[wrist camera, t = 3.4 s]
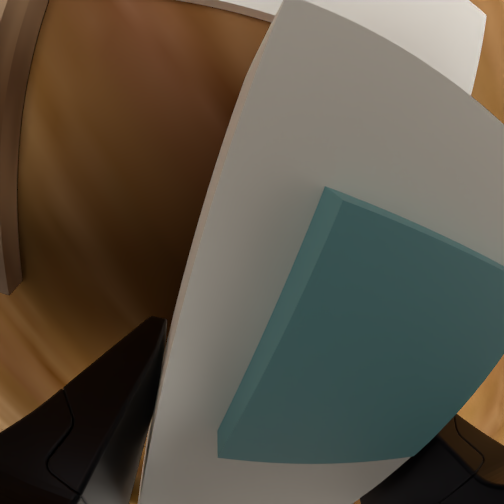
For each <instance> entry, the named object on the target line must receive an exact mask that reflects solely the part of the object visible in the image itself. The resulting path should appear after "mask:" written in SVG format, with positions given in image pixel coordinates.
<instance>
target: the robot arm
mask: <svg viewBox="0 0 504 504" xmlns="http://www.w3.org/2000/svg"><path fill="white" fill-rule="evenodd" d="M166 331H167V320H166V319H165V318H160V317H155V316H151V317H149V318H148V319H146V320H145V321H144V322H143V323H141V324H140V325H139V326H138V327H136V328H135V329H134V330H133V331H132V332H130V333H129V334H128V335H127V336H125V337H124V338H123V339H122V340H120V341H119V342H118V343H117V344H116V345H114V346H113V347H112V348H111V349H109V350H108V351H107V352H106V353H104V354H103V355H102V356H101V357H100V358H98V359H97V360H96V361H95V362H93V363H92V364H91V365H90V366H89V367H87V368H86V369H85V370H84V371H83V372H81V373H80V374H79V375H78V376H76V377H75V378H74V379H73V380H72V381H70V382H69V383H68V384H67V385H66V386H64V387H63V389H64V390H63V389H60V390H59V391H58V392H57V393H56V394H54V395H53V396H52V397H51V398H50V399H48V400H47V401H46V402H44V403H43V404H42V405H41V406H39V407H38V408H37V409H35V410H34V411H33V412H31V413H30V414H28V415H27V416H25V417H24V418H22V419H21V420H19V421H18V422H16V423H15V424H13V425H12V426H10V427H8V428H7V429H5V430H4V431H2V432H1V433H0V504H129V501H130V497H131V493H132V489H133V485H134V481H135V477H136V473H137V470H138V466H139V462H140V458H141V455H142V451H143V447H144V444H145V440H146V437H147V433H148V429H149V426H150V422H151V419H152V416H153V411H154V406H155V401H156V395H157V390H158V385H159V380H160V374H161V368H162V362H163V356H164V350H165V341H166ZM360 502H361V504H504V446H503V445H502V444H500V443H499V442H497V441H495V440H494V439H492V438H491V437H489V436H487V435H486V434H484V433H483V432H481V431H480V430H478V429H477V428H475V427H474V426H473V425H471V424H470V423H468V422H467V421H466V420H464V419H463V418H461V417H460V416H459V415H458V414H456V415H455V416H454V417H453V418H452V419H451V420H450V421H449V422H448V423H447V424H446V425H445V426H444V427H443V428H442V430H441V431H440V432H439V433H438V434H437V435H436V436H435V437H434V438H433V439H432V440H431V441H430V442H429V443H427V444H426V445H425V446H424V447H423V448H422V449H421V450H420V451H419V452H418V453H417V454H416V455H415V456H412V457H410V458H409V459H408V460H407V461H406V462H405V463H403V464H402V465H401V466H400V467H399V468H398V469H397V470H395V471H394V472H393V473H392V474H391V475H389V476H388V477H387V478H386V479H384V480H383V481H382V482H381V483H379V484H378V485H377V486H376V487H374V488H373V489H372V490H370V491H369V492H368V493H366V494H365V495H364V496H362V497H361V498H360Z"/></svg>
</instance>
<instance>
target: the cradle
mask: <svg viewBox="0 0 504 504" xmlns="http://www.w3.org/2000/svg"><path fill="white" fill-rule="evenodd" d="M48 1H49V0H0V293H3V294H6V295H10V294H11V293H12V292H13V291H14V290H15V289H16V287H17V286H18V285H19V284H20V283H21V282H22V281H23V279H22V271H21V261H20V251H19V238H18V219H17V170H18V151H19V138H20V128H21V119H22V111H23V104H24V97H25V91H26V86H27V80H28V75H29V70H30V65H31V61H32V56H33V52H34V48H35V44H36V40H37V36H38V33H39V29H40V26H41V22H42V19H43V16H44V13H45V10H46V7H47V4H48Z"/></svg>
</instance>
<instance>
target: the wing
mask: <svg viewBox="0 0 504 504" xmlns="http://www.w3.org/2000/svg"><path fill="white" fill-rule="evenodd" d="M178 1H184V2H189V3H195V4H200V5H205V6H210V7H215V8H219V9H224V10H228V11H232V12H236V13H240V14H244V15H247V16H251V17H254V18H258V19H261V20H265V21H268V22H271V23H272V21H273V19H274V17H275V15H276V13H277V11H278V9H279V7H280V5H281V4H282V2H283V0H178ZM304 1H307V2H310V3H312V4H315V5H317V6H319V7H322V8H324V9H327V10H329V11H331V12H334V13H336V14H338V15H340V16H342V17H345V18H347V19H349V20H351V21H353V22H355V23H357V24H359V25H361V26H363V27H365V28H367V29H369V30H371V31H373V32H375V33H377V34H378V35H380V36H382V37H384V38H386V39H387V40H389V41H391V42H393V43H394V44H396V45H398V46H400V47H401V48H403V49H405V50H406V51H408V52H409V53H411V54H413V55H414V56H416V57H417V58H419V59H420V60H422V61H424V62H425V63H427V64H428V65H430V66H431V67H432V68H434V69H435V70H437V71H438V72H440V73H441V74H443V75H444V76H445V77H447V78H448V79H449V80H451V81H452V82H453V83H455V84H456V85H457V86H459V87H460V88H461V89H463V90H464V91H465V92H466V93H468V94H469V95H470V96H471V93H472V89H473V85H474V81H475V76H476V72H477V67H478V63H479V58H480V53H481V47H482V42H483V36H484V30H485V23H486V16H487V15H486V14H485V13H483V12H482V11H481V10H480V9H479V8H478V7H476V6H475V5H474V4H473V3H472V2H470V1H469V0H304Z"/></svg>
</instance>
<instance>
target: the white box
mask: <svg viewBox="0 0 504 504" xmlns="http://www.w3.org/2000/svg"><path fill="white" fill-rule="evenodd" d="M503 354H504V124H503V123H501V122H500V121H499V120H498V119H497V118H496V117H495V116H494V115H493V114H492V113H490V112H489V111H488V110H487V109H486V108H485V107H483V106H482V105H481V104H480V103H479V102H478V101H476V100H475V99H474V98H473V97H471V96H470V95H469V94H468V93H466V92H465V91H464V90H463V89H461V88H460V87H459V86H457V85H456V84H455V83H453V82H452V81H451V80H449V79H448V78H447V77H445V76H444V75H443V74H441V73H440V72H438V71H437V70H435V69H434V68H432V67H431V66H430V65H428V64H427V63H425V62H424V61H422V60H420V59H419V58H417V57H416V56H414V55H413V54H411V53H409V52H408V51H406V50H405V49H403V48H401V47H400V46H398V45H396V44H394V43H393V42H391V41H389V40H387V39H386V38H384V37H382V36H380V35H378V34H377V33H375V32H373V31H371V30H369V29H367V28H365V27H363V26H361V25H359V24H357V23H355V22H353V21H351V20H349V19H347V18H345V17H342V16H340V15H338V14H336V13H334V12H331V11H329V10H327V9H324V8H322V7H319V6H317V5H315V4H312V3H310V2H307V1H304V0H283V2H282V4H281V5H280V7H279V9H278V11H277V13H276V15H275V17H274V19H273V21H272V23H271V25H270V27H269V29H268V31H267V33H266V35H265V37H264V39H263V41H262V43H261V45H260V47H259V49H258V51H257V53H256V55H255V57H254V59H253V61H252V64H251V66H250V68H249V70H248V72H247V74H246V77H245V79H244V82H243V85H242V88H241V91H240V93H239V96H238V99H237V102H236V105H235V108H234V110H233V113H232V116H231V119H230V122H229V125H228V128H227V131H226V134H225V137H224V140H223V143H222V146H221V149H220V152H219V155H218V158H217V162H216V165H215V168H214V171H213V174H212V177H211V181H210V184H209V187H208V190H207V194H206V197H205V200H204V204H203V207H202V210H201V214H200V217H199V221H198V224H197V228H196V231H195V235H194V238H193V242H192V245H191V249H190V253H189V256H188V260H187V264H186V267H185V271H184V275H183V279H182V283H181V286H180V290H179V294H178V298H177V302H176V306H175V310H174V314H173V318H172V322H171V327H170V331H169V335H168V339H167V344H166V348H165V352H164V357H163V362H162V368H161V374H160V380H159V385H158V390H157V395H156V401H155V406H154V411H153V416H152V419H151V422H150V426H149V431H148V437H147V443H146V449H145V455H144V462H143V469H142V476H141V483H140V490H139V498H138V504H352V503H354V502H355V501H357V500H358V499H359V498H361V497H362V496H364V495H365V494H366V493H368V492H369V491H370V490H372V489H373V488H374V487H376V486H377V485H378V484H379V483H381V482H382V481H383V480H384V479H386V478H387V477H388V476H389V475H391V474H392V473H393V472H394V471H395V470H397V469H398V468H399V467H400V466H401V465H402V464H403V463H405V462H406V461H407V460H408V459H409V458H410V457H412V456H415V455H416V454H417V453H418V452H419V451H420V450H421V449H422V448H423V447H424V446H425V445H426V444H427V443H429V442H430V441H431V440H432V439H433V438H434V437H435V436H436V435H437V434H438V433H439V432H440V431H441V430H442V428H443V427H444V426H445V425H446V424H447V423H448V422H449V421H450V420H451V419H452V418H453V417H454V416H455V415H456V414H457V412H458V411H459V410H460V409H461V408H462V407H463V406H464V404H465V403H466V402H467V401H468V400H469V399H470V397H471V396H472V395H473V394H474V393H475V391H476V390H477V389H478V388H479V386H480V385H481V384H482V383H483V381H484V380H485V379H486V378H487V376H488V375H489V374H490V372H491V371H492V370H493V368H494V367H495V366H496V364H497V363H498V361H499V360H500V359H501V357H502V356H503Z"/></svg>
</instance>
